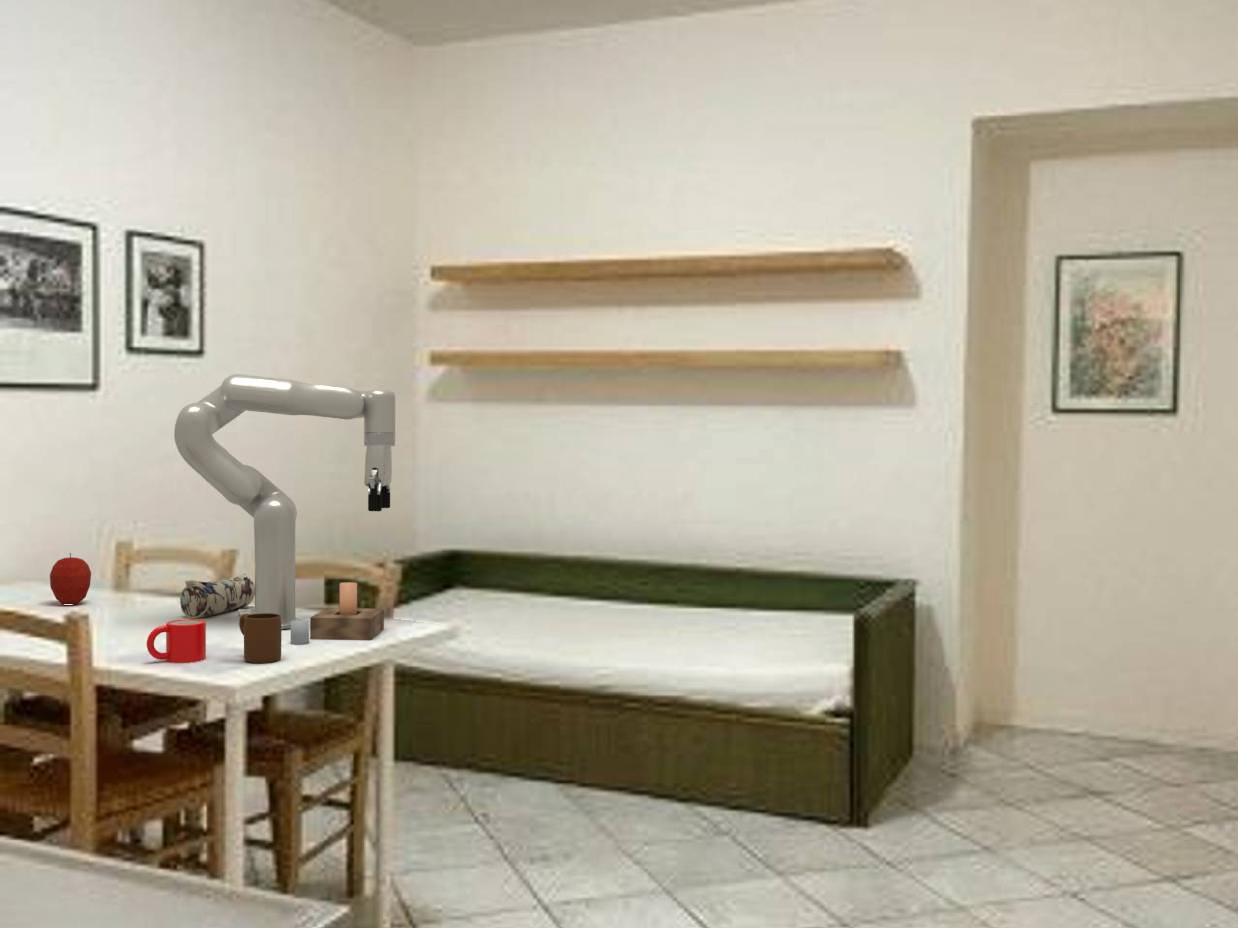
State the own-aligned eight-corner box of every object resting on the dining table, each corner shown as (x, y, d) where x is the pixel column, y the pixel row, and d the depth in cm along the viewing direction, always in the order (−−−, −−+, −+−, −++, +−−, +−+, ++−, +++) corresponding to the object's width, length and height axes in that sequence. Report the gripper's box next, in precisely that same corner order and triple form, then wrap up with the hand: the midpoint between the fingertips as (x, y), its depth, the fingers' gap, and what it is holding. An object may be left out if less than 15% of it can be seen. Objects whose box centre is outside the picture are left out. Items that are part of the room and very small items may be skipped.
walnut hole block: (310, 639, 283) (310, 617, 283) (326, 628, 297) (326, 607, 297) (370, 640, 283) (370, 618, 283) (383, 629, 297) (384, 608, 297)
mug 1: (140, 660, 257) (140, 623, 256) (197, 654, 265) (197, 617, 264) (154, 667, 251) (153, 628, 250) (211, 659, 258) (211, 622, 258)
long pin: (337, 635, 288) (337, 584, 288) (341, 632, 292) (342, 582, 292) (354, 635, 288) (354, 584, 287) (358, 632, 292) (358, 582, 291)
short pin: (288, 644, 276) (288, 622, 276) (293, 641, 280) (293, 619, 280) (306, 645, 276) (306, 622, 276) (310, 641, 280) (310, 619, 280)
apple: (97, 604, 328) (97, 552, 327) (58, 608, 321) (58, 555, 320) (82, 600, 335) (82, 549, 334) (44, 604, 328) (43, 552, 327)
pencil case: (205, 620, 307) (205, 581, 306) (177, 618, 310) (177, 579, 309) (258, 607, 328) (258, 571, 327) (231, 605, 330) (231, 569, 330)
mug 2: (225, 657, 261) (225, 613, 261) (256, 652, 267) (256, 609, 267) (257, 665, 253) (257, 620, 253) (288, 660, 259) (288, 615, 259)
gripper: (372, 439, 312) (372, 506, 312) (356, 440, 294) (355, 512, 295) (401, 439, 311) (401, 507, 312) (387, 441, 294) (386, 512, 295)
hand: (379, 509), depth 304 cm, fingers open, 9 cm apart
